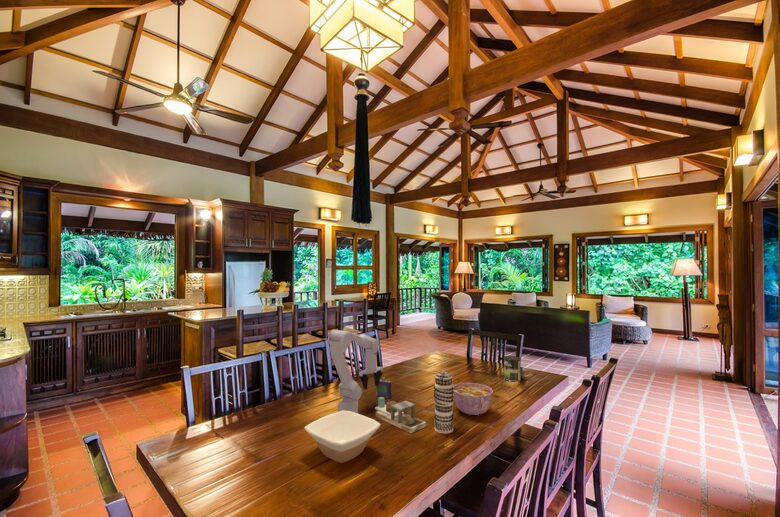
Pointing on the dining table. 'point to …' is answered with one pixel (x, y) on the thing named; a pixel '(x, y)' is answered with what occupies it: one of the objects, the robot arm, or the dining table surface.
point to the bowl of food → (472, 398)
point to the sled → (384, 407)
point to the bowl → (342, 434)
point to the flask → (383, 388)
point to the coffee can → (512, 368)
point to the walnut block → (388, 406)
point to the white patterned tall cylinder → (443, 402)
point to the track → (403, 417)
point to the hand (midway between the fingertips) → (371, 387)
